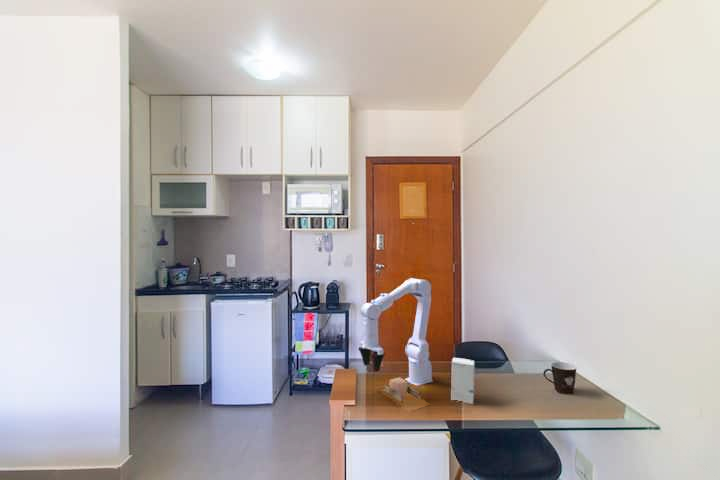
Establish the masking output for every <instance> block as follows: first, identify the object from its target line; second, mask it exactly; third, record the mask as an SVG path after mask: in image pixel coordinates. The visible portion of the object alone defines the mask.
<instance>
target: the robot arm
mask: <svg viewBox="0 0 720 480" xmlns="http://www.w3.org/2000/svg"><path fill="white" fill-rule="evenodd" d="M431 291H432V284H431V283H430V282H429V281H428V280H427V279H420V278H414V277H409V278H408V279H407V280H405V281H404V282H403V283H402V284H401V285H399V286H397V287H396V288H395V289H394V290H392V291H391V292H389V293H383V292H382V293H380V294H379V296H378V297H376V298H375V299H371V301H370V302H366V303H363V305H362V307H361V308H360V314H361V316H362V319H363V320H362V321H363V339H362V340H360V341H359V346H360V347H358V349H357V350H358V352H359V353H360V356H361V358H362V361H363V366H369V365H370V363H371V361H372V366H373V367H372V368H373V371H374V372H375V373H376V372H379V371H380V370H381V365H382V361H383V359H384V357H385V355H386V354H385V352H384V349H383V348H382V346H380V345H379V322H378V321H379V318H380V316H381V313H382V312H384V311H386V310H387V309H389V308H391V307H392V306H393V305H394V301H397V300H398V299H400V298H401V297H403V296H404V295H406V294H409V293H410V294H412V295H413V296H414V297H415V298H416V300H417V306H416V313H415V320H414V324H413V325H414V327H413V331H412V332H413V333H412V336H411V337H410V338H409V339H408V341H407V345H405V349H404V351H405V354H406V356H407V359H408V377H406V378H404V380H405V381H406V380H407V383H410V384H411V385H413V384H414V385H413V386H415V385H416V386H415V387H417V386H421V385H425V384H428V383H432V382H434V380H433V376H432V375H433V373H432V370H433V368H432V367H433V366H432V362H431V361H430V360H429V358H430V351H429V350H430V349H429V348H430V344H429V343H428V342H427V340H426V337H427V330H428V322H429V318H430V311H431V305H432V304H431V303H432V293H431ZM371 352H372V353H371Z"/></svg>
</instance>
